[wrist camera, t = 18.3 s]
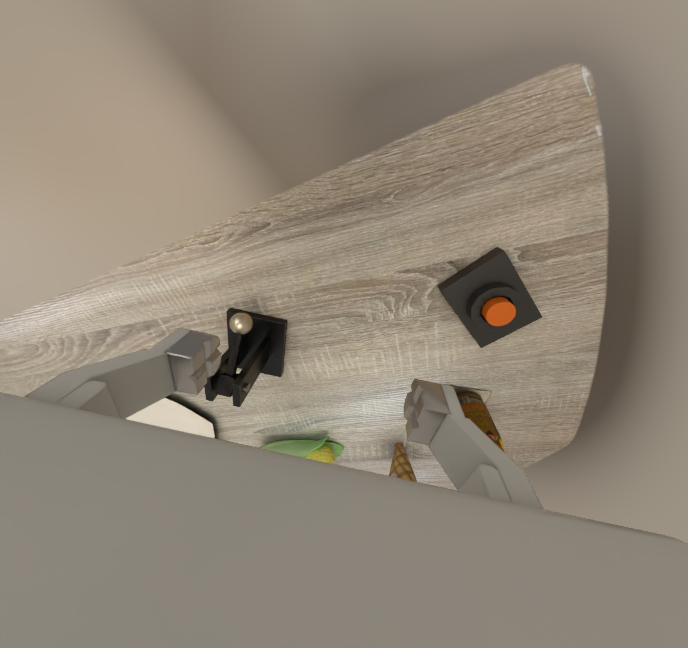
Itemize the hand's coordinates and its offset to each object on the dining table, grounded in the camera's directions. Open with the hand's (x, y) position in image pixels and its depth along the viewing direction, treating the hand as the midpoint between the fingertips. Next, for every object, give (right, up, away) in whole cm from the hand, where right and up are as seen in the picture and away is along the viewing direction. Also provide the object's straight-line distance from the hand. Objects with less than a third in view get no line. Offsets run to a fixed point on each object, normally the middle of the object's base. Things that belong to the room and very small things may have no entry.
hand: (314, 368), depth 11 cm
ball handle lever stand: (-14, -1, +36) cm, 39 cm away
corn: (-9, -26, +50) cm, 57 cm away
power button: (+22, +4, +24) cm, 33 cm away
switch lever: (-15, -2, +28) cm, 32 cm away
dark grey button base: (+22, +6, +27) cm, 36 cm away
